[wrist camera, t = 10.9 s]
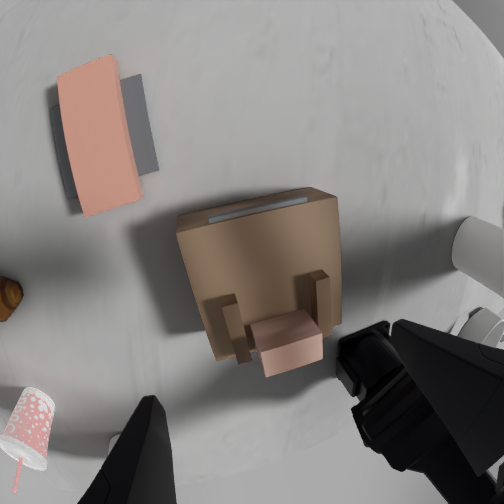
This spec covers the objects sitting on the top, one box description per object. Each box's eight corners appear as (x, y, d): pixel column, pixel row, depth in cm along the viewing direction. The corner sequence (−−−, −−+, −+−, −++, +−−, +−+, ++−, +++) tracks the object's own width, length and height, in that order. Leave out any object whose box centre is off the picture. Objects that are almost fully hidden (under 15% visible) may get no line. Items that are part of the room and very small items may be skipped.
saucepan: (484, 344, 42) (499, 357, 37) (437, 364, 36) (456, 383, 31) (506, 298, 38) (524, 310, 33) (467, 305, 33) (490, 323, 28)
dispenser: (310, 183, 20) (363, 202, 14) (320, 298, 24) (360, 346, 18) (176, 212, 19) (171, 246, 13) (210, 329, 23) (222, 391, 17)
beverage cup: (46, 384, 21) (17, 488, 9) (68, 417, 24) (52, 511, 11) (10, 380, 20) (-24, 469, 8) (33, 412, 22) (11, 496, 10)
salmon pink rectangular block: (117, 60, 14) (111, 54, 12) (143, 195, 18) (139, 200, 16) (65, 81, 13) (57, 76, 12) (92, 211, 17) (84, 217, 16)
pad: (141, 75, 15) (140, 74, 14) (159, 169, 18) (158, 170, 17) (52, 108, 14) (50, 108, 13) (70, 198, 17) (68, 199, 16)
